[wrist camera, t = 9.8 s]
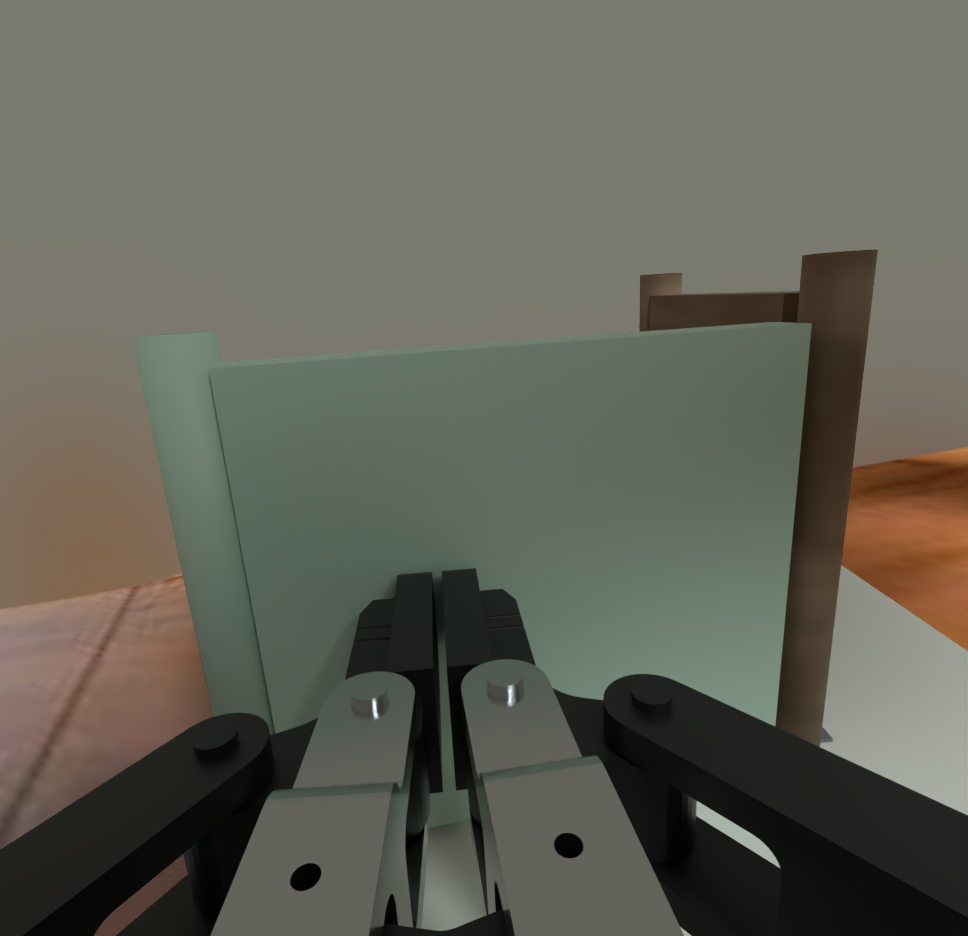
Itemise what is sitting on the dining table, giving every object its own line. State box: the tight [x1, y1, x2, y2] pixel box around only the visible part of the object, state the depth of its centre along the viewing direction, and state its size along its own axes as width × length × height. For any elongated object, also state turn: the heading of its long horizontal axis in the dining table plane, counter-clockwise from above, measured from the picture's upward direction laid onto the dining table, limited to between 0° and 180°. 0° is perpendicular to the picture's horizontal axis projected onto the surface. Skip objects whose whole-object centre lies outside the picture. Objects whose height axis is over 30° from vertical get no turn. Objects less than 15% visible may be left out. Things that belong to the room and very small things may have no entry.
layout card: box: [422, 565, 968, 936], centre depth 17 cm, size 23×23×1 cm
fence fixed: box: [640, 250, 878, 747], centre depth 20 cm, size 2×13×13 cm, turn 3°
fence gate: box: [132, 322, 812, 829], centre depth 13 cm, size 13×1×12 cm, turn 101°
